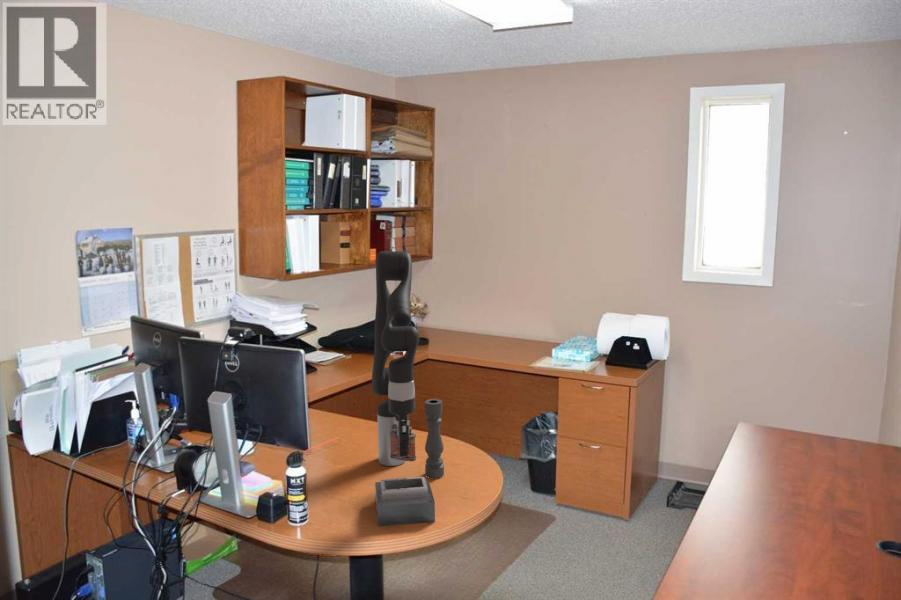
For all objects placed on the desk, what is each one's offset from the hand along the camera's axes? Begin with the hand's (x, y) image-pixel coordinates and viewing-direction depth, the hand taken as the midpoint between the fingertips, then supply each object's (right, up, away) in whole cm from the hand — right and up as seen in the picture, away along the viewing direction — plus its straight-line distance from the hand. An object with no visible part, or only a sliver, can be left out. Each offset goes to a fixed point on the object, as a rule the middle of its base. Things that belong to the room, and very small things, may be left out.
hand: (403, 451), depth 204 cm
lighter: (0, -2, 0) cm, 2 cm away
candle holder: (+8, -14, +28) cm, 32 cm away
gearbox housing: (0, -18, +3) cm, 18 cm away
